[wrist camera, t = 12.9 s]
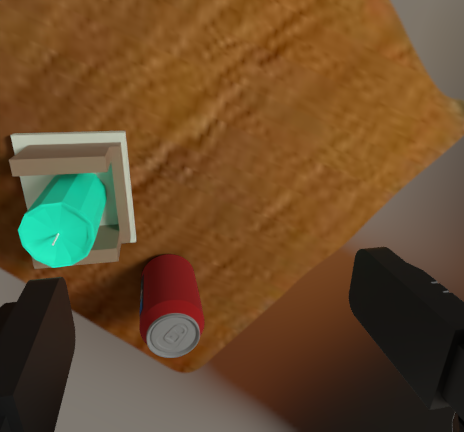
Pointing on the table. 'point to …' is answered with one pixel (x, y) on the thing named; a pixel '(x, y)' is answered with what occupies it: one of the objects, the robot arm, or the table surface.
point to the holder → (81, 161)
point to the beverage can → (170, 306)
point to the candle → (64, 219)
